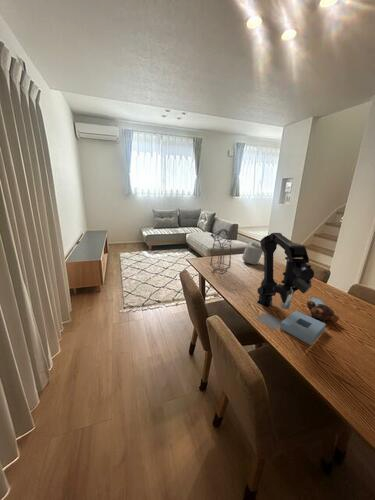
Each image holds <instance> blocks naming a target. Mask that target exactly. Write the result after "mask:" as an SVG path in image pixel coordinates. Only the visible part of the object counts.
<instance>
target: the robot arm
mask: <svg viewBox="0 0 375 500" xmlns="http://www.w3.org/2000/svg"><path fill="white" fill-rule="evenodd" d="M259 241H260V245H261V249H262V251H263V252H262V253H263V270H264V271H263V274H264V275H263V280H261V282H260V286H259V287H258V288H257V294H258V295H259V296H258V300H257V301H256V304H259V305H260V306H263V307H265V308H268V307H270V306H271V305H273V299H274V298H273V297H275V296H276V294H278V295H280V299H281V302H283V303H286V300H287V298H288V295H290V294H291V293H292V292H290V290H291V288H293V294H292V297H293V296H294V294H295V293H296V291H300V292H301V293H302V294H306V293H308V292H309V290H310V289H311V288H312V279H313V278H314V277H315V272H314V271H315V270H313V268H312V265H311V264H310V260H309V256H308V255H309V254H308V253H307V251H308V250H307V249H306V248H307V247H305V246H304V245H303V244H301V243H296V242H293V241H292V240H290V239H288V238H287V237H285V236H284V235H283V234H282V233H281V232H272V233H270V234H268V235H265V236H264V237H263V238H261V239H260V240H259ZM278 246H279V247H280V248H282V249H283V250H284V254H285V255H286V257H284V259H285V260H286V265H285V271H284V272H283V273H282V275H283V280H281V281H280V282H281V283H277V282H276V281H275V279H274V254H275V252H276V250H277V247H278Z"/></svg>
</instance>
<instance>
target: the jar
mask: <svg viewBox="0 0 375 500" xmlns="http://www.w3.org/2000/svg"><path fill="white" fill-rule="evenodd" d="M263 253H264V252H263V251H262V249H261V244H259V243H257V242H253V241H251V242H250V243H247V244H246V247H245V249H244V251H243V254H242V256H241V259H242V261H244V262H245V263H247V264H249V265H255V266H256V265H257V264H258V263H259V262H260V259H261V257H262V254H263ZM261 262H264V259H262V261H261Z"/></svg>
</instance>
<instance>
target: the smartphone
mask: <svg viewBox="0 0 375 500" xmlns="http://www.w3.org/2000/svg"><path fill="white" fill-rule="evenodd" d="M308 301H313V302H314V303H315V305H317V304H323V305H326V303H325V301H323V300H322V299H321V298H317V297H315V298H314V297H308ZM326 306H327V305H326Z"/></svg>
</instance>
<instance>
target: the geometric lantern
mask: <svg viewBox="0 0 375 500" xmlns="http://www.w3.org/2000/svg"><path fill="white" fill-rule="evenodd" d="M221 234H222V235H223V237H221V238H220V235H221ZM209 236H210V237H212V239H213V240H214V242H213V244H212V252H211V258H210V265H209V266H211V268H212V271H213V272H215V273H217V274H225V273H227V271H228V270H229V269H230V268H231V264H232V263H231V262H232V261H231V257H232V252H231V251H232V244H231V242H232V241H233V240H234V239H235V238H236V237H237V236H236V235H235V234H233V233H232V232H230V231H229V230H227V229H226V228H222V229H220V230H218V231H215V232H213V233H211V234H209ZM223 239H224V241H223V242H222V243H221V242H220V241H222V240H223ZM226 241H227V242H226ZM216 242H218V245H219V246H218V245H217V243H216ZM227 243H228V244H227ZM215 247H217V248H219V250H218V254H219V255H218V258H217V262H214V263H213V256H214V255H213V254H214V249H215ZM228 247H229V261H228V263H229V264H225V262H224V261H225V260H224V259H225V249H226V248H228ZM221 252H222V253H221ZM215 264H217V266H213V265H215ZM221 264H222V265H223V266H221ZM224 266H227V267H224ZM217 271H219V272H217Z"/></svg>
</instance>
